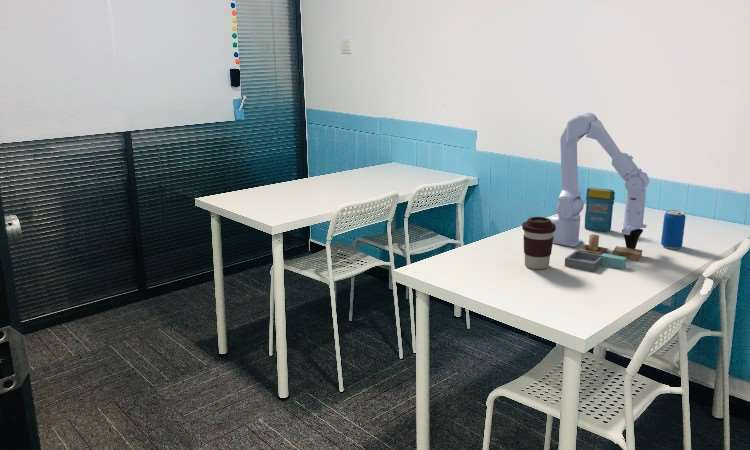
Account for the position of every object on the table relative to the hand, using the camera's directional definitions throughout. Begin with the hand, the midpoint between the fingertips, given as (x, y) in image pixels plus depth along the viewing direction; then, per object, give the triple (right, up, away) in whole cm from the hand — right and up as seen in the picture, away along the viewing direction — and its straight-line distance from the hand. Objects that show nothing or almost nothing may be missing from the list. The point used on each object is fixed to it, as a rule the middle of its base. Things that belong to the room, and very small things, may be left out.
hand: (630, 250), depth 212 cm
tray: (-18, -4, -9) cm, 21 cm away
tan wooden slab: (-2, -2, -2) cm, 4 cm away
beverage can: (+16, +1, +6) cm, 17 cm away
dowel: (-13, -2, -2) cm, 13 cm away
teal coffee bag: (-2, +6, +27) cm, 28 cm away
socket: (-13, -2, -2) cm, 13 cm away
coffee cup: (-33, -5, -10) cm, 34 cm away
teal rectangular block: (-10, -4, -10) cm, 15 cm away
